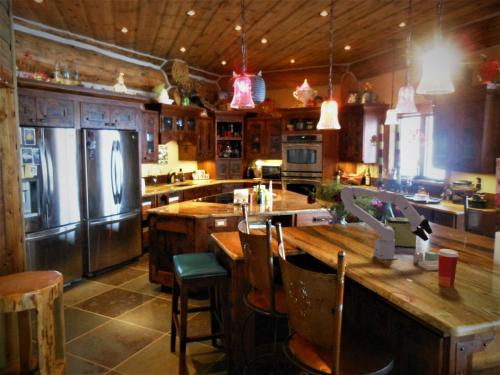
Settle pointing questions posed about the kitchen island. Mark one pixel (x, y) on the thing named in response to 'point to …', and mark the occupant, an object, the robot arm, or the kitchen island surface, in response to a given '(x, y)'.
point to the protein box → (402, 232)
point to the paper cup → (447, 267)
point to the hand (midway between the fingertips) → (428, 236)
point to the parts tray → (428, 265)
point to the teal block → (431, 256)
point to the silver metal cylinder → (417, 257)
